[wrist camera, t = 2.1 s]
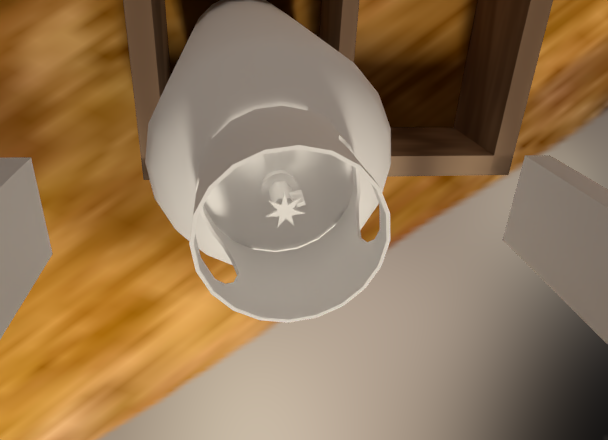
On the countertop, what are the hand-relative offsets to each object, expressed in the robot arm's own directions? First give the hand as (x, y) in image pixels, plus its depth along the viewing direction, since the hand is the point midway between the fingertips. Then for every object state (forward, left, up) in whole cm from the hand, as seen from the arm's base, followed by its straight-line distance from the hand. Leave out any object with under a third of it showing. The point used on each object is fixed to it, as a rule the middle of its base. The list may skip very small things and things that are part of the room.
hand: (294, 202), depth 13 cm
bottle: (0, 0, -26) cm, 26 cm away
